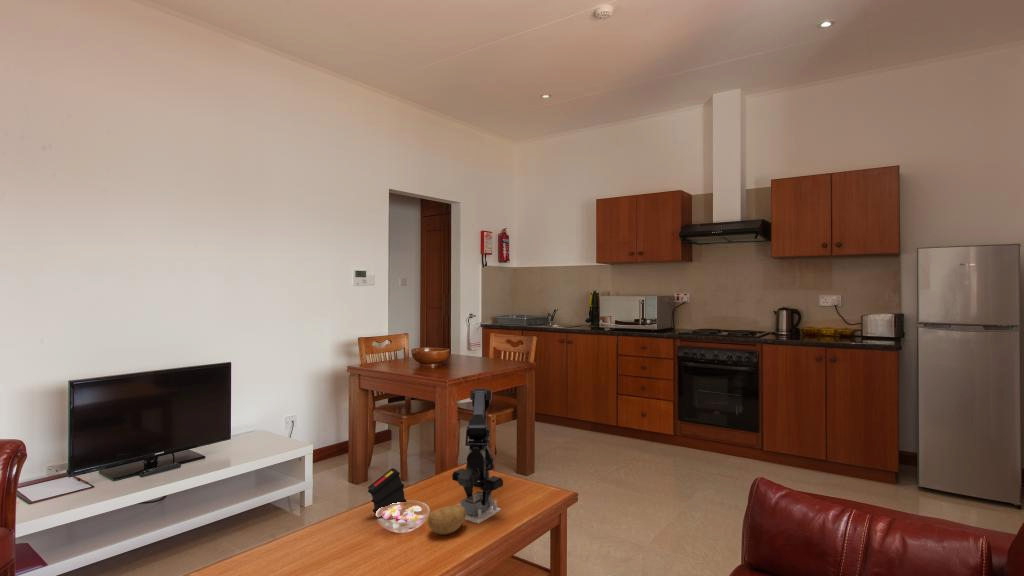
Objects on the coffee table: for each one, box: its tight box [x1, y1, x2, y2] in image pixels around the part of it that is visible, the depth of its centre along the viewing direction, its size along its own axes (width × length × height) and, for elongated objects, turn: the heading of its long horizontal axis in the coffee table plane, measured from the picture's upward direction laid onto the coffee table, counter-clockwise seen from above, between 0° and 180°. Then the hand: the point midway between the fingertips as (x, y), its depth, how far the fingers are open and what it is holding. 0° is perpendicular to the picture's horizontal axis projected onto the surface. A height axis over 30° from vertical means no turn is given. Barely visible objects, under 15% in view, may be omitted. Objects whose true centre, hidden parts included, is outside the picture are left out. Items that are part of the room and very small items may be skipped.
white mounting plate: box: [456, 499, 501, 524], centre depth 186 cm, size 13×11×4 cm
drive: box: [460, 491, 493, 516], centre depth 186 cm, size 10×6×4 cm, turn 146°
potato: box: [427, 504, 466, 536], centre depth 171 cm, size 10×14×8 cm
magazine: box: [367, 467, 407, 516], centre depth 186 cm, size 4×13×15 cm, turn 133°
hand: (477, 503), depth 186 cm, fingers open, 6 cm apart
